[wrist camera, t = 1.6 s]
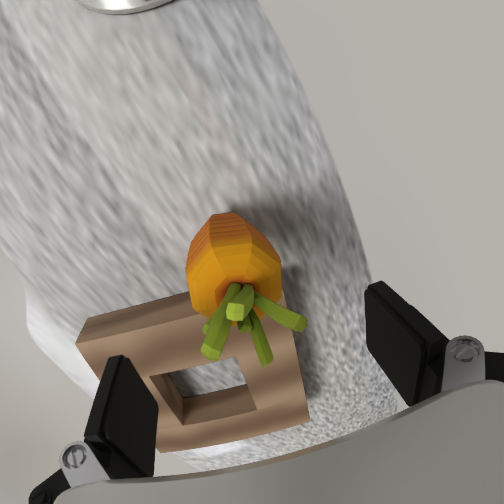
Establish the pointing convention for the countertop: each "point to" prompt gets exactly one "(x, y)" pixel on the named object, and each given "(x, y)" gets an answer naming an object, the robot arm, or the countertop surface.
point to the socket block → (189, 355)
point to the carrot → (236, 284)
